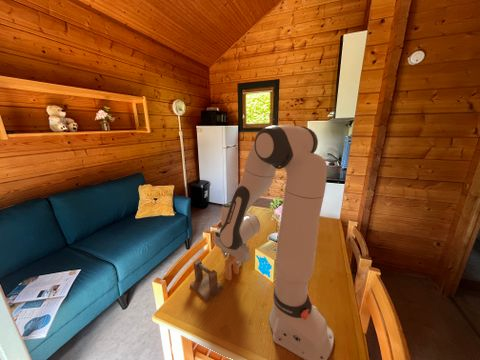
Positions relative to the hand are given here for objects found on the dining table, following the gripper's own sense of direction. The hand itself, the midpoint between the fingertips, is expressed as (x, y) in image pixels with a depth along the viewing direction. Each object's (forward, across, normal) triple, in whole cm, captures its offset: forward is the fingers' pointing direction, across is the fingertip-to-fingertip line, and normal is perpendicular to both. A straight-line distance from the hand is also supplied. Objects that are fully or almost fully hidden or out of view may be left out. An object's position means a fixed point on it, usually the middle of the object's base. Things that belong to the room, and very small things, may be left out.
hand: (232, 260), depth 95 cm
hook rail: (+8, +4, +13) cm, 16 cm away
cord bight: (+8, 0, 0) cm, 8 cm away
